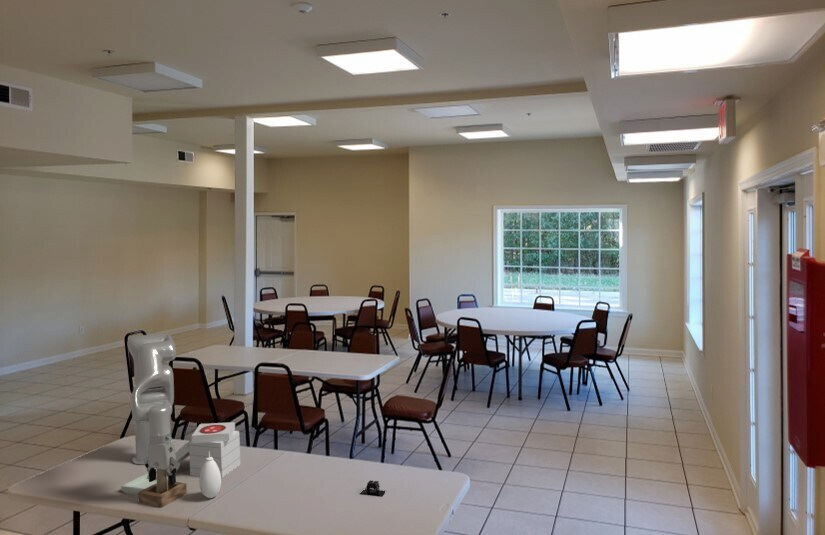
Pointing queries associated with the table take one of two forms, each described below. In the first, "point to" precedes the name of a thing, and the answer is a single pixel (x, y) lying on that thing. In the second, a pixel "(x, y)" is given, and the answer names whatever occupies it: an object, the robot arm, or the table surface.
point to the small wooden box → (161, 495)
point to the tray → (138, 484)
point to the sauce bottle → (210, 478)
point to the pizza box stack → (212, 447)
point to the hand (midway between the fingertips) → (162, 482)
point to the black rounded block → (373, 489)
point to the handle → (161, 480)
